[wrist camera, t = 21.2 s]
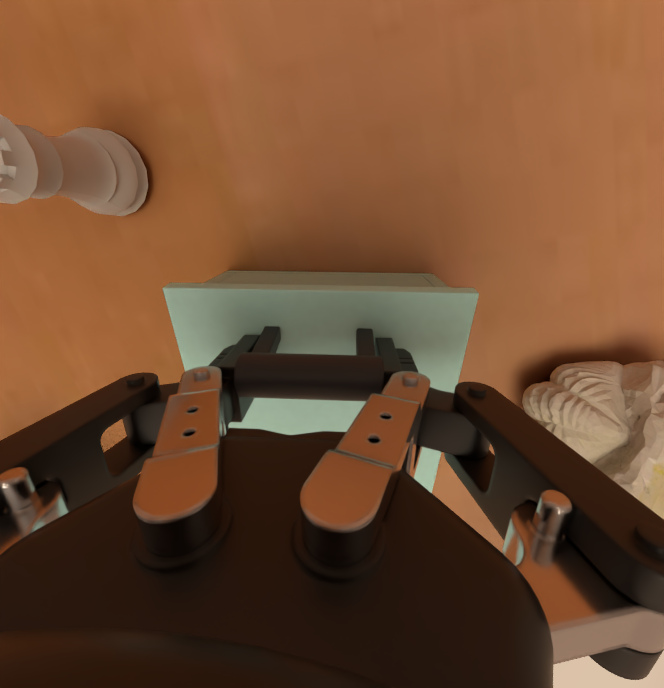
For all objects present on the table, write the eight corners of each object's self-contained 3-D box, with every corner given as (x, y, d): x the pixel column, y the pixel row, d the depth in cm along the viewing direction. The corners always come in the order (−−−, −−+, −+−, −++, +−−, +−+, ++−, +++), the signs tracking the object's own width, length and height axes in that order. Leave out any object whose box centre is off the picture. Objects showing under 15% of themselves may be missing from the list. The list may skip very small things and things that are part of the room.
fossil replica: (524, 330, 22) (485, 443, 26) (596, 410, 14) (525, 546, 19) (726, 349, 21) (648, 463, 25) (918, 445, 13) (758, 582, 18)
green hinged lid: (169, 282, 14) (97, 333, 10) (474, 287, 14) (526, 343, 10) (229, 511, 22) (202, 590, 18) (421, 520, 22) (436, 604, 18)
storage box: (227, 270, 21) (194, 286, 17) (432, 273, 20) (455, 291, 16) (249, 461, 27) (229, 511, 23) (408, 468, 26) (420, 520, 22)
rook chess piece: (168, 191, 19) (57, 181, 12) (113, 230, 20) (-20, 242, 13) (116, 113, 18) (-46, 46, 11) (60, 158, 19) (-124, 126, 12)
